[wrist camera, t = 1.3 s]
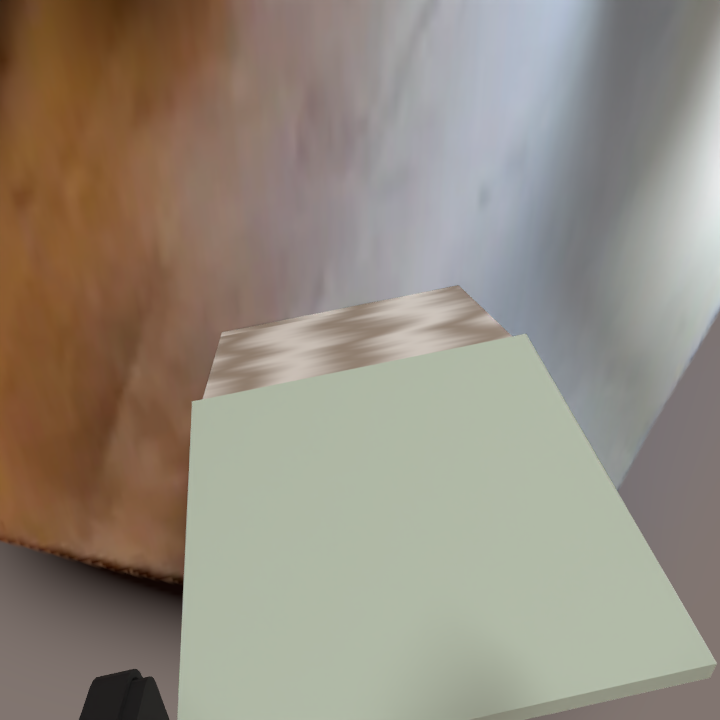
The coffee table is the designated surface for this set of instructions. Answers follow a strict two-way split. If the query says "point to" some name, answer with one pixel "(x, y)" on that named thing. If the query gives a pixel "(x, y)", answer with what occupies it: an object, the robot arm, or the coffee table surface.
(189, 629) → the lid
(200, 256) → the coffee table surface
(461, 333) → the box
